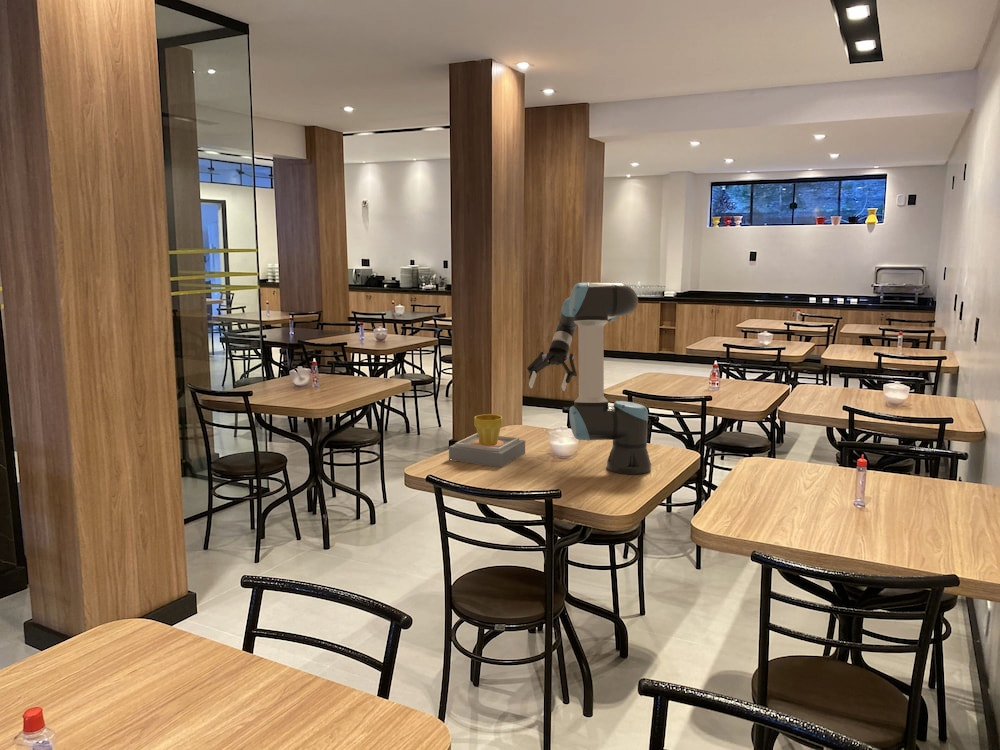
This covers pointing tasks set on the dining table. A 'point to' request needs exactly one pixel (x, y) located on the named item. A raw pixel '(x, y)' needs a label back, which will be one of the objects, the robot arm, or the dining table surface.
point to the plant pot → (488, 428)
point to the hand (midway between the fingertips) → (546, 387)
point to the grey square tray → (487, 451)
